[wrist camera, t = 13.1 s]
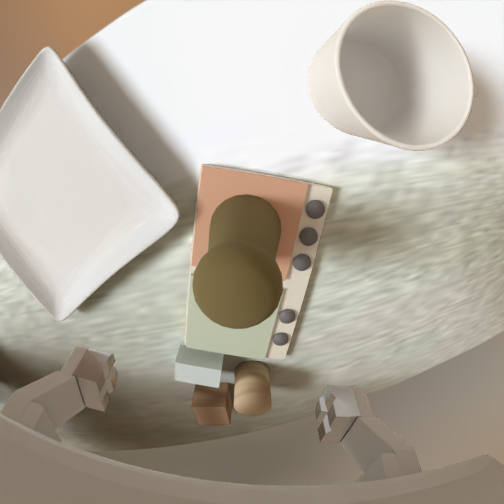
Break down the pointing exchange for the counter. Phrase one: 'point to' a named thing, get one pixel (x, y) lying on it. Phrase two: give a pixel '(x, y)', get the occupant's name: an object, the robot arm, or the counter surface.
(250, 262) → the pepper shaker
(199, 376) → the soap box
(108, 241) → the salad plate
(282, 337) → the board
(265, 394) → the cork stopper
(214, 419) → the walnut cube
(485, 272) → the counter surface
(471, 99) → the mug
